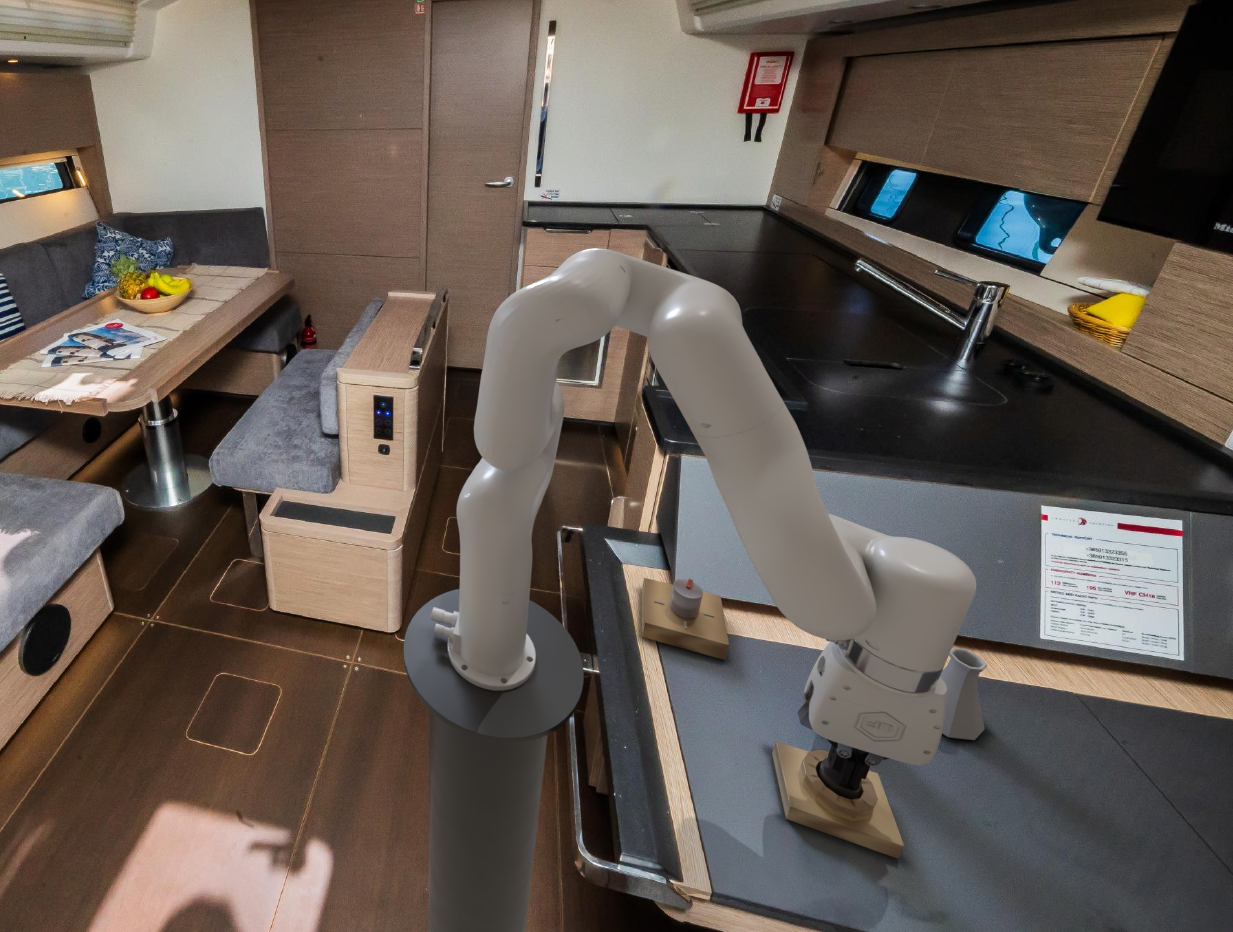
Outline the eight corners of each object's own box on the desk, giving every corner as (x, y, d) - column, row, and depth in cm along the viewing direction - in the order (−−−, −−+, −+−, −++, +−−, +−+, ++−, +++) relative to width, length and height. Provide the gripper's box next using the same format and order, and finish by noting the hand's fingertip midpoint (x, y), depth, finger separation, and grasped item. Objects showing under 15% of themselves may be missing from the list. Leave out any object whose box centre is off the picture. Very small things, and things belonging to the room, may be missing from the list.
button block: (785, 819, 66) (793, 796, 65) (771, 753, 73) (778, 731, 72) (898, 859, 62) (910, 836, 61) (873, 785, 69) (882, 763, 68)
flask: (949, 747, 73) (976, 689, 69) (890, 694, 79) (913, 639, 76) (998, 736, 74) (1028, 679, 70) (936, 685, 80) (960, 630, 77)
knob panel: (642, 637, 90) (644, 621, 89) (641, 591, 98) (644, 576, 97) (725, 660, 85) (729, 644, 84) (717, 610, 94) (721, 595, 93)
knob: (695, 623, 88) (700, 601, 86) (666, 610, 90) (670, 589, 89) (700, 606, 91) (705, 584, 89) (672, 595, 93) (676, 573, 92)
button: (822, 793, 66) (826, 783, 65) (813, 762, 69) (817, 752, 68) (862, 806, 64) (866, 796, 64) (852, 775, 67) (856, 764, 67)
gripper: (807, 659, 59) (770, 780, 66) (1009, 711, 53) (945, 839, 60) (791, 606, 65) (758, 721, 72) (969, 647, 59) (916, 768, 66)
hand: (843, 774), depth 66 cm, fingers closed
